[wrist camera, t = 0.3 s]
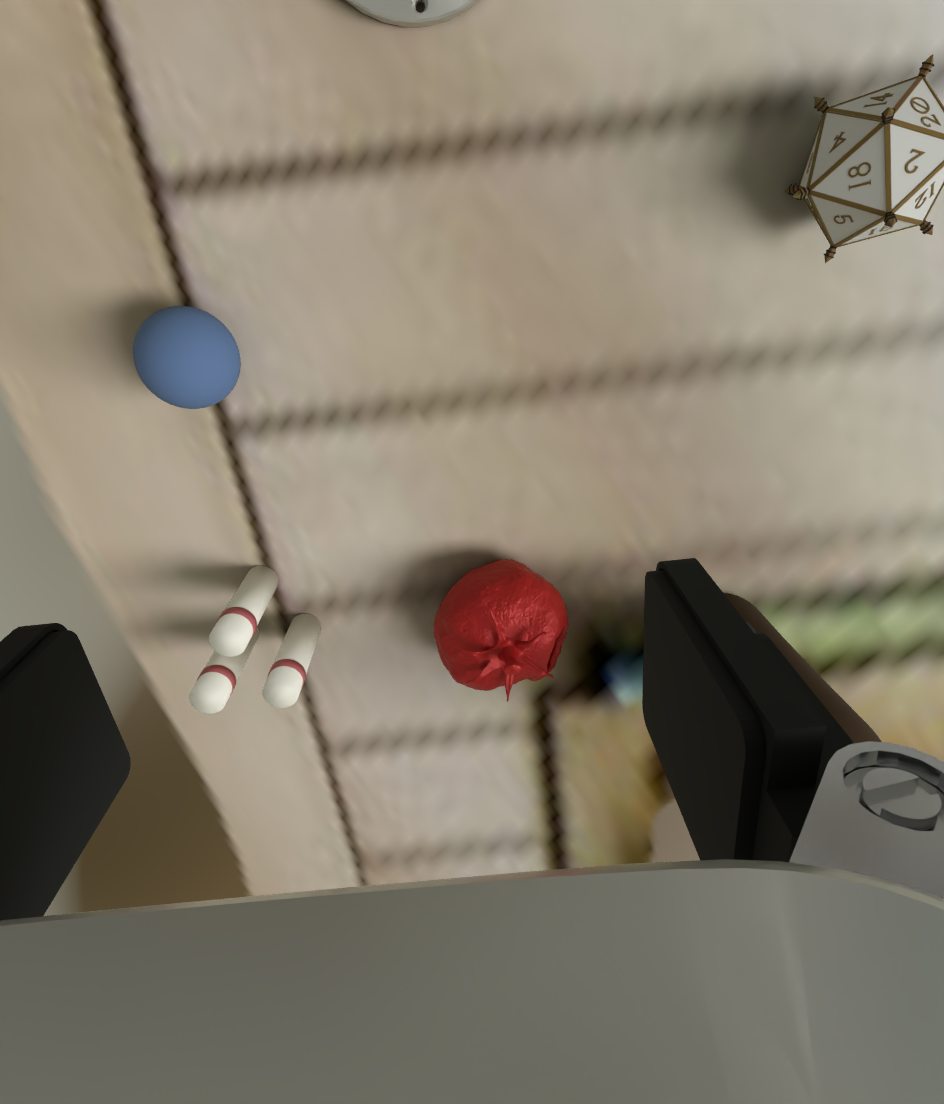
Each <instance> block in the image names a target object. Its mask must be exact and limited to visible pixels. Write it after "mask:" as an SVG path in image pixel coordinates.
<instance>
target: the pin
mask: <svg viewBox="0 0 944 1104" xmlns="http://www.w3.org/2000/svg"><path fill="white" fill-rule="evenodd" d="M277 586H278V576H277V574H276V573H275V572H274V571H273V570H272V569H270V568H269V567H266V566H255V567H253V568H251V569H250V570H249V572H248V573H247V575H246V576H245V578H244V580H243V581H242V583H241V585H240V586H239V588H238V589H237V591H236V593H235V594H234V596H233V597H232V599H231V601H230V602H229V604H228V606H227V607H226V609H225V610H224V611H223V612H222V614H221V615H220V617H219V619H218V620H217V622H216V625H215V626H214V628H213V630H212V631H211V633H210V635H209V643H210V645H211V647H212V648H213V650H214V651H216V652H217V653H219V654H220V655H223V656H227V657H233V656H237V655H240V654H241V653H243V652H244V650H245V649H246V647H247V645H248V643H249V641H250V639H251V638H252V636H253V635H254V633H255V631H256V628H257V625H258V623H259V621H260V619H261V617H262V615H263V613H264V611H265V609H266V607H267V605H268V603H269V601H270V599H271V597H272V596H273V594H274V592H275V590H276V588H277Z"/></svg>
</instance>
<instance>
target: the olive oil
mask: <svg viewBox="0 0 944 1104" xmlns="http://www.w3.org/2000/svg"><path fill="white" fill-rule="evenodd" d="M724 595H725V596H726V597H727V599H728V600H729V601H730V603H731V604H732V605H733V606H734V608H735V609H736V610H737V612H738V613H739V614H740V615H741V617H742V618H743V619H744V621H745V622H746V623H747V624H748V626H749V627H750V628H751V630H752V631H753V632H760V633H764V634H765V635H766V636H767V637H769V638H770V639H771V641H772V642H773V643H774V644H775V646H776V647H777V648H778V649H779V650H780V652H781V653H782V654H783V655H784V657H785V658H786V659H787V660H788V662H789V663H790V664H791V665H792V667H793V668H794V669H795V670H796V672H797V673H798V674H799V675H800V676H801V678H802V679H803V680H804V681H805V683H806V684H807V685H808V686H809V688H810V689H811V690H812V691H813V693H814V694H815V695H816V696H817V698H818V699H819V700H820V701H821V702H822V704H823V705H824V706H825V707H826V709H827V710H828V711H829V712H830V714H831V715H832V716H833V717H834V719H835V720H836V721H837V722H838V724H839V725H840V726H841V727H842V728H843V730H844V731H845V732H846V733H847V735H848V736H849V737H850V738H851V740H852V741H853V742H854V743H861V742H867V741H871V742H882V741H881V740H880V739H879V737H878V736H877V735H876V733H875V732H874V731H873V730H872V729H871V728H870V727H869V725H868V724H867V723H866V722H865V721H864V720H863V719H862V718H861V717H860V716H859V715H858V714H857V713H856V712H855V711H854V710H853V709H852V708H851V707H850V706H849V705H848V704H847V703H846V702H845V701H844V700H843V699H842V698H841V697H840V696H839V695H838V694H837V693H836V692H835V691H834V690H833V689H832V688H831V687H830V686H829V685H828V684H827V683H826V682H825V681H824V680H823V679H822V678H821V676H820V675H819V674H818V673H817V672H816V671H815V670H814V669H813V668H812V667H811V666H810V665H809V664H808V663H807V662H806V661H805V660H804V659H803V658H802V657H801V656H800V655H799V654H798V653H797V652H796V650H795V649H794V648H793V647H792V646H791V645H790V644H789V643H788V642H787V641H786V640H785V639H784V638H783V637H782V636H781V634H780V633H779V632H778V631H777V630H776V629H775V628H774V627H773V626H772V625H771V623H770V622H769V621H768V620H767V619H766V618H765V617H764V616H763V615H762V614H761V613H760V611H759V610H758V609H757V608H756V607H755V606H753V605H752V604H751V603H750V602H748V601H746V600H745V599H743V598H740V597H738V596H735V595H730V594H724Z"/></svg>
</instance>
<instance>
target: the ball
mask: <svg viewBox="0 0 944 1104" xmlns="http://www.w3.org/2000/svg"><path fill="white" fill-rule="evenodd" d="M133 357H134V363H135V367H136V369H137V372H138V374H139V376H140V378H141V380H142V381H143V383H144V384H145V385H146V386H147V388H148V389H149V390H150V391H151V392H152V393H153V394H155V395H156V396H157V397H158V398H160V399H161V400H163V401H165V402H167V403H169V404H171V405H174V406H177V407H182V408H188V409H198V408H205V407H208V406H211V405H214V404H216V403H218V402H220V401H221V400H223V399H224V398H225V397H226V396H227V395H228V394H229V393H230V392H231V391H232V389H233V388H234V386H235V384H236V382H237V380H238V377H239V373H240V366H241V362H240V354H239V350H238V346H237V344H236V342H235V339H234V338H233V336H232V334H231V333H230V331H229V330H228V329H227V328H226V327H225V325H224V324H223V323H222V322H220V321H219V320H218V319H217V318H215V317H214V316H212V315H211V314H209V313H207V312H205V311H202V310H200V309H197V308H193V307H187V306H174V307H168V308H165V309H162V310H160V311H158V312H156V313H154V314H152V315H151V316H150V317H148V318H147V319H146V320H145V321H144V322H143V324H142V325H141V326H140V328H139V330H138V332H137V334H136V337H135V340H134V345H133Z"/></svg>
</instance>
